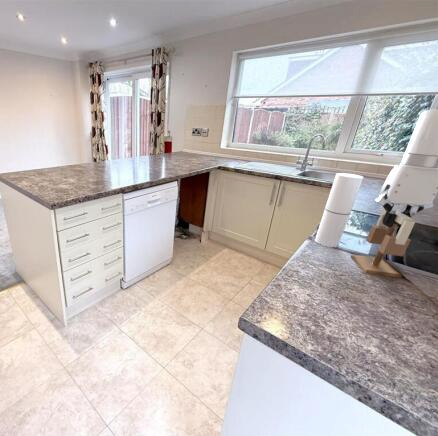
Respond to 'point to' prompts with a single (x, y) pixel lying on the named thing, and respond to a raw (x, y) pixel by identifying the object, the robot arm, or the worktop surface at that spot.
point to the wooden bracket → (390, 242)
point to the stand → (378, 260)
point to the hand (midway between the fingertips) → (393, 225)
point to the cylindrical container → (338, 209)
